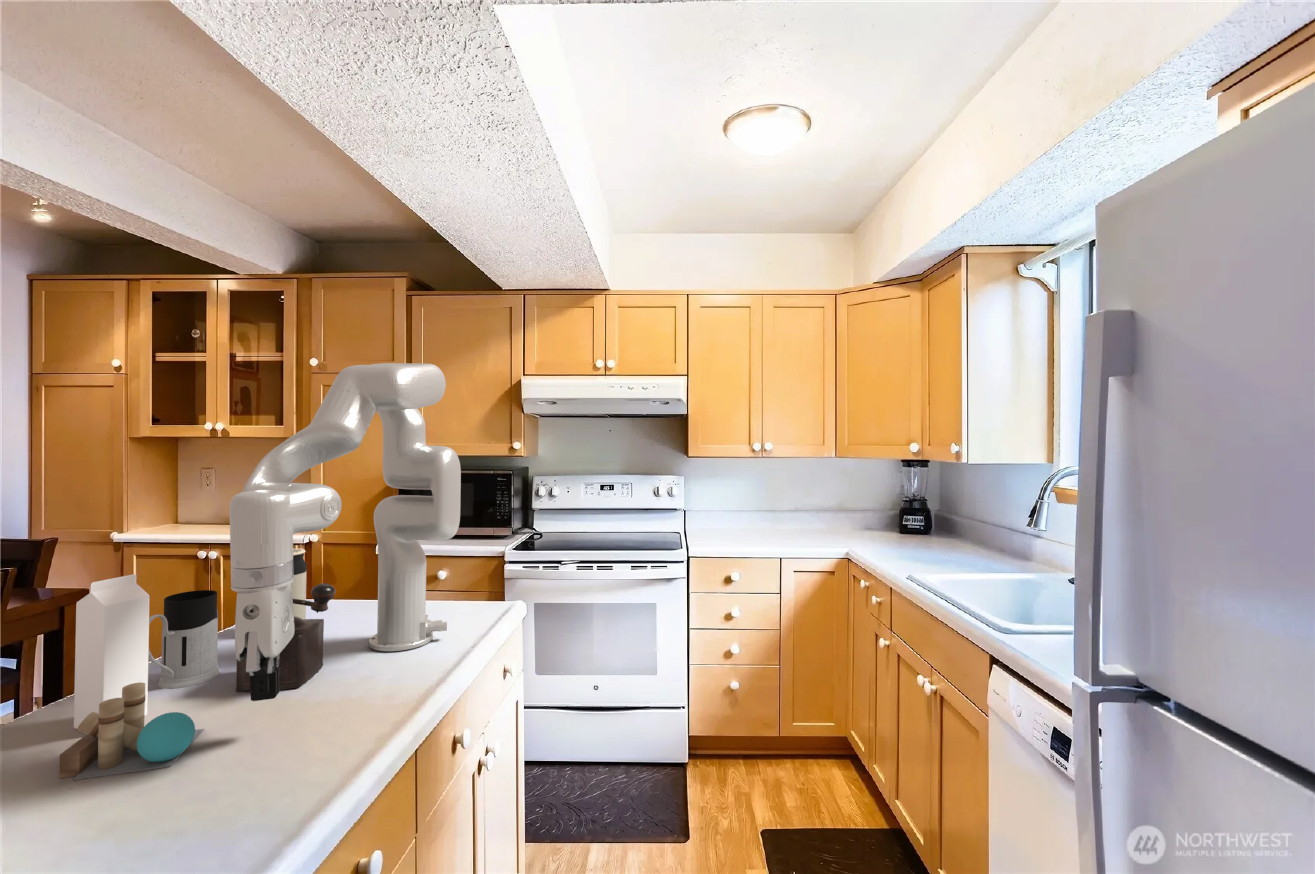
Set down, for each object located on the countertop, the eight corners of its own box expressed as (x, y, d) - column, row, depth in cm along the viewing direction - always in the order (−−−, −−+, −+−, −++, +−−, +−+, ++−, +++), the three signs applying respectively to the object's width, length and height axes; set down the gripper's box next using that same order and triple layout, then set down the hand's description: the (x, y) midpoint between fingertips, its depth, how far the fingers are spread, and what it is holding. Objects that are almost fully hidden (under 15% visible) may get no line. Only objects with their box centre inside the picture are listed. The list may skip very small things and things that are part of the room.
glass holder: (231, 668, 107) (233, 589, 107) (169, 702, 93) (171, 611, 93) (184, 668, 107) (185, 589, 107) (114, 703, 92) (116, 611, 93)
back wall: (120, 740, 81) (121, 719, 81) (79, 775, 73) (79, 752, 73) (103, 742, 81) (103, 721, 81) (59, 778, 72) (59, 754, 72)
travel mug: (283, 624, 133) (284, 547, 133) (313, 625, 132) (314, 548, 132) (254, 635, 125) (255, 554, 125) (286, 637, 124) (288, 555, 124)
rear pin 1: (127, 759, 76) (128, 696, 76) (116, 769, 74) (117, 704, 74) (104, 762, 76) (105, 698, 76) (92, 772, 73) (93, 707, 73)
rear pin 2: (148, 740, 81) (149, 681, 81) (137, 749, 79) (139, 688, 79) (126, 743, 80) (128, 683, 80) (115, 752, 78) (117, 690, 78)
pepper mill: (230, 694, 96) (232, 588, 96) (265, 668, 107) (267, 573, 107) (328, 689, 98) (330, 586, 99) (352, 664, 109) (354, 571, 110)
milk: (73, 729, 84) (74, 581, 84) (120, 710, 90) (121, 572, 90) (102, 734, 83) (104, 584, 83) (149, 714, 89) (150, 574, 89)
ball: (130, 731, 77) (178, 741, 81) (119, 768, 72) (171, 776, 76) (161, 697, 77) (208, 708, 81) (153, 731, 73) (202, 741, 76)
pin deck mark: (203, 729, 84) (203, 728, 84) (169, 766, 75) (169, 765, 75) (120, 740, 81) (120, 738, 81) (73, 779, 72) (73, 778, 72)
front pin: (161, 731, 80) (97, 708, 77) (152, 740, 77) (85, 716, 75) (150, 748, 79) (85, 725, 77) (140, 757, 77) (72, 734, 75)
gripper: (275, 587, 77) (278, 719, 77) (306, 560, 91) (308, 671, 92) (209, 592, 74) (212, 728, 75) (252, 563, 89) (254, 678, 89)
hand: (265, 696), depth 83 cm, fingers closed
